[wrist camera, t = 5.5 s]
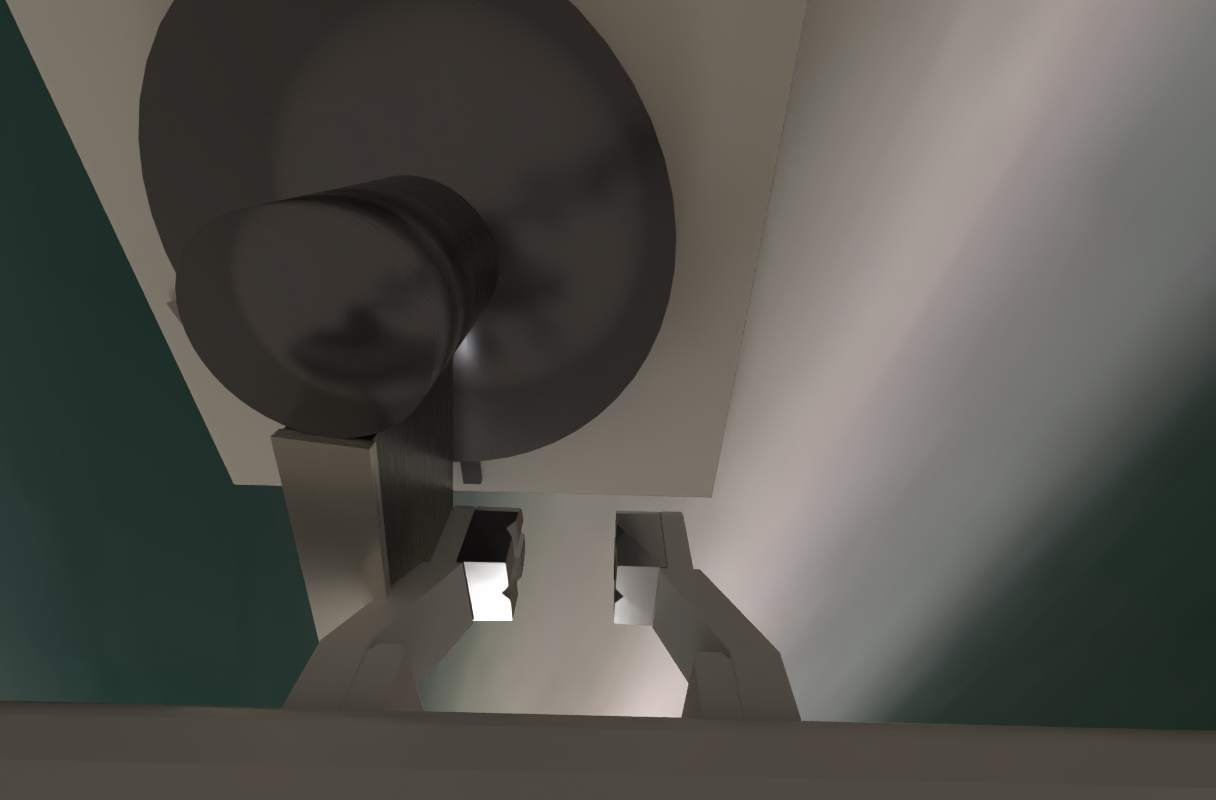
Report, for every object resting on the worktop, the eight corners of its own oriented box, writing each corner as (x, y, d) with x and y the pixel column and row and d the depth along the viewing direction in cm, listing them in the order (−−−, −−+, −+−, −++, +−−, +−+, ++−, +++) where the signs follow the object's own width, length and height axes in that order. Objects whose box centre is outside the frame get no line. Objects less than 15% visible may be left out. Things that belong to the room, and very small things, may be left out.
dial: (102, -136, 7) (-728, -575, 3) (729, 1, 8) (882, -161, 4) (261, 470, 13) (82, 646, 9) (612, 514, 14) (613, 695, 9)
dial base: (812, -171, 8) (856, -235, 7) (702, 466, 15) (713, 501, 14) (-6, -213, 8) (-143, -290, 6) (266, 453, 15) (230, 487, 13)
